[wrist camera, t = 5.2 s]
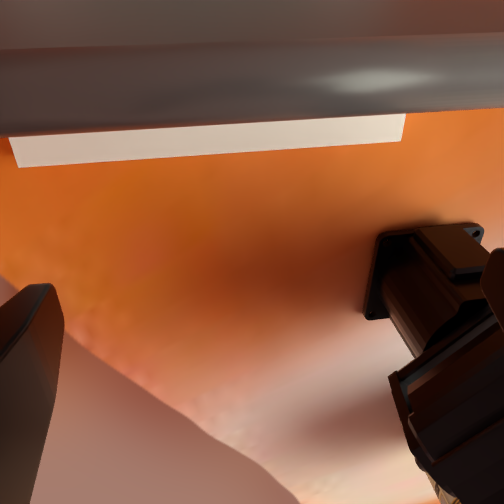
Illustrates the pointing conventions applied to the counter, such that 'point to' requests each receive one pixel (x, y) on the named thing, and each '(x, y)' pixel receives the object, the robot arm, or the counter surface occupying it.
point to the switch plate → (204, 140)
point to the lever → (241, 61)
